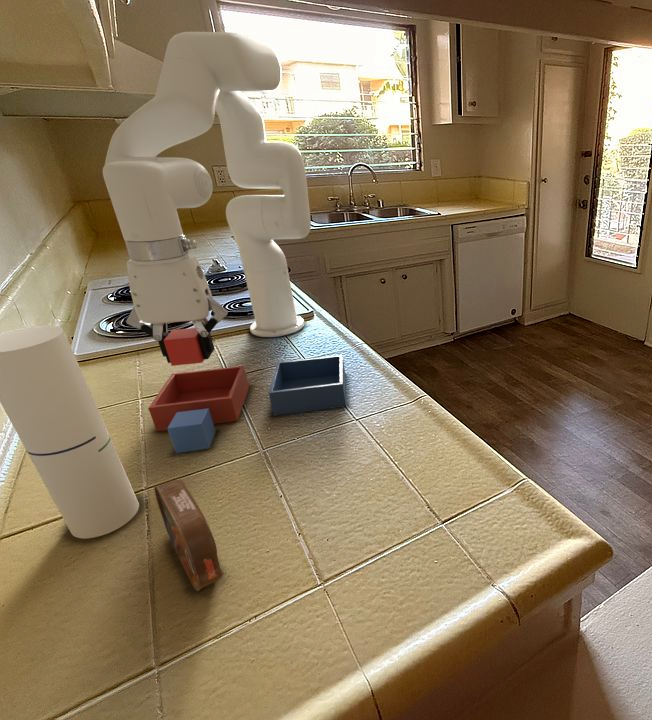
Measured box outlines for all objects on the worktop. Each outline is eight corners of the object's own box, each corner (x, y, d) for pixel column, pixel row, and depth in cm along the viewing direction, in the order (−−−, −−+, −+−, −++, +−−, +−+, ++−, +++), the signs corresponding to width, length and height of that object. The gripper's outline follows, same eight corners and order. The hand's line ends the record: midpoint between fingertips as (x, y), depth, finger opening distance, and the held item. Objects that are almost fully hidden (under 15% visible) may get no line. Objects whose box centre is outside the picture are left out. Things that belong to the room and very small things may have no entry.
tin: (164, 528, 58) (143, 475, 54) (192, 515, 59) (173, 463, 56) (203, 608, 48) (180, 550, 44) (234, 589, 50) (215, 532, 46)
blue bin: (281, 382, 91) (276, 362, 89) (345, 375, 94) (342, 354, 92) (273, 416, 80) (268, 393, 78) (346, 406, 83) (342, 384, 81)
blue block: (184, 436, 75) (176, 412, 73) (215, 431, 76) (208, 408, 74) (176, 453, 71) (167, 428, 69) (209, 448, 72) (201, 424, 70)
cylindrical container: (56, 529, 57) (-46, 347, 46) (113, 491, 63) (35, 322, 52) (97, 544, 55) (0, 357, 44) (152, 504, 61) (79, 330, 50)
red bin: (179, 395, 87) (171, 373, 85) (249, 386, 89) (244, 365, 87) (156, 431, 76) (147, 408, 74) (237, 420, 79) (231, 397, 77)
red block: (180, 354, 80) (172, 329, 78) (209, 351, 81) (202, 327, 79) (171, 366, 76) (163, 340, 74) (202, 362, 77) (195, 337, 75)
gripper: (224, 241, 75) (248, 343, 83) (104, 247, 71) (142, 354, 79) (213, 251, 69) (241, 361, 77) (81, 258, 65) (124, 373, 73)
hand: (190, 356), depth 78 cm, fingers closed on red block, 4 cm apart
